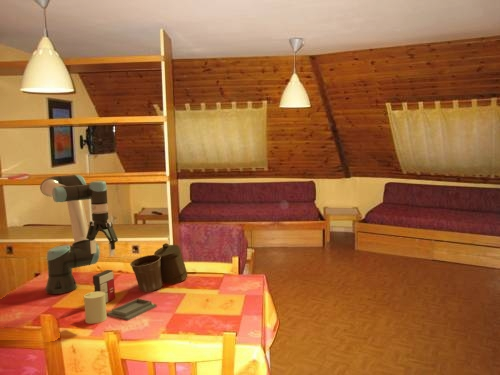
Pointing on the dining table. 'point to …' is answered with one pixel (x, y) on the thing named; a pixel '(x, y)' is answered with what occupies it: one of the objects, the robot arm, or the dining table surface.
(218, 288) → the dining table surface
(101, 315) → the can
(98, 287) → the red and grey box
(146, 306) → the tray
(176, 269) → the wooden container
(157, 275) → the plant pot
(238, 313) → the dining table surface
